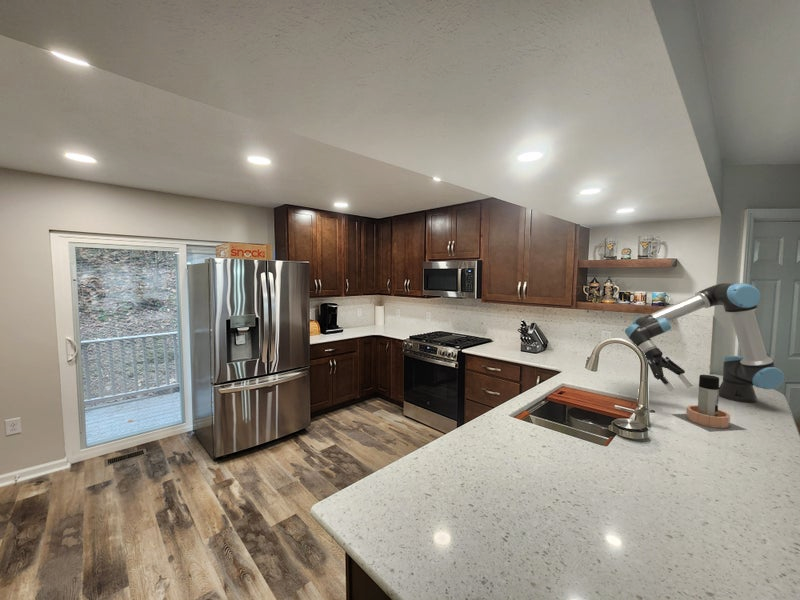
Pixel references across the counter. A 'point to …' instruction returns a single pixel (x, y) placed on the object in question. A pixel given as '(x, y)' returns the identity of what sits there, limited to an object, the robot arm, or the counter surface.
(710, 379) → the spray can
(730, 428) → the mat
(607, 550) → the counter surface
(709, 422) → the bowl
